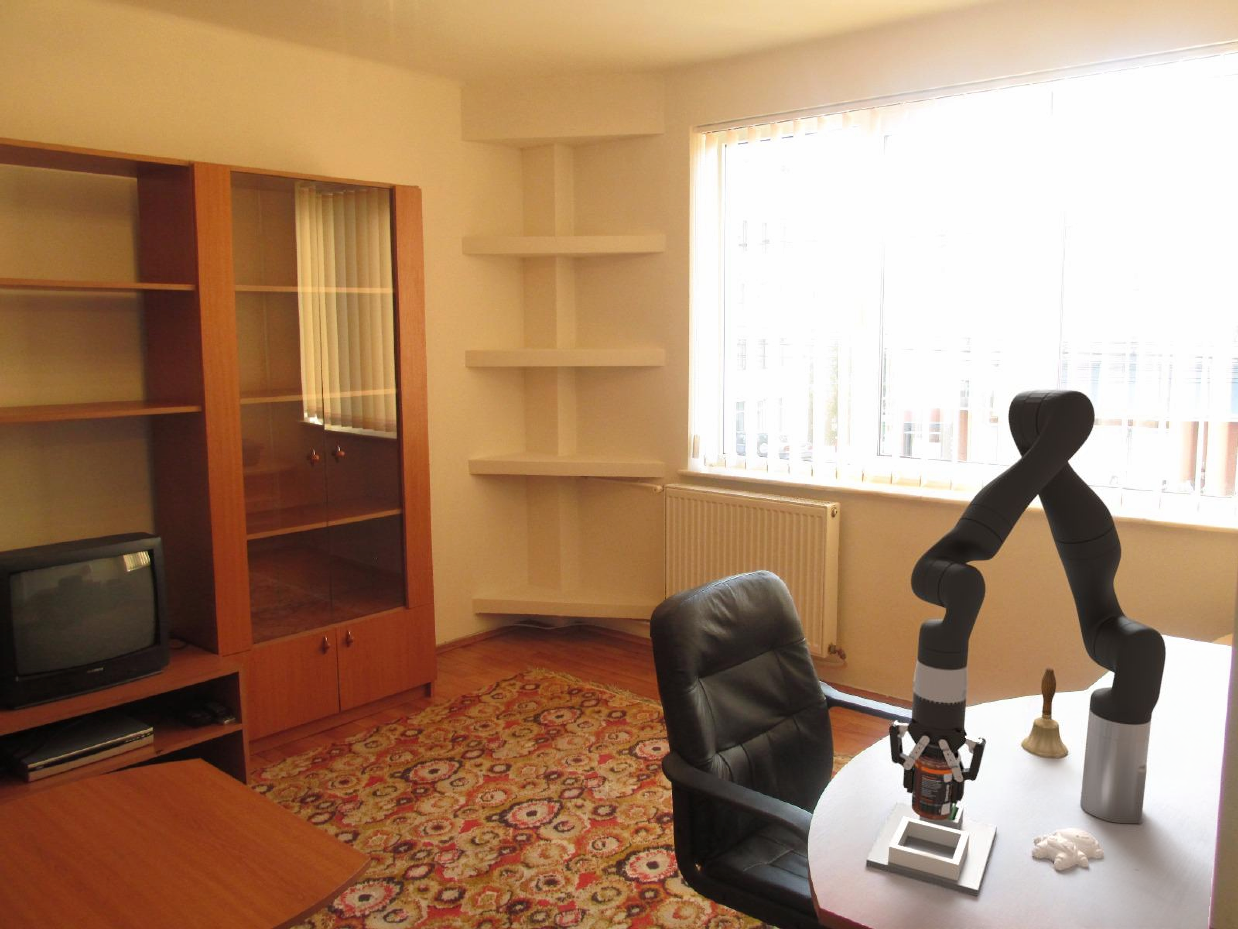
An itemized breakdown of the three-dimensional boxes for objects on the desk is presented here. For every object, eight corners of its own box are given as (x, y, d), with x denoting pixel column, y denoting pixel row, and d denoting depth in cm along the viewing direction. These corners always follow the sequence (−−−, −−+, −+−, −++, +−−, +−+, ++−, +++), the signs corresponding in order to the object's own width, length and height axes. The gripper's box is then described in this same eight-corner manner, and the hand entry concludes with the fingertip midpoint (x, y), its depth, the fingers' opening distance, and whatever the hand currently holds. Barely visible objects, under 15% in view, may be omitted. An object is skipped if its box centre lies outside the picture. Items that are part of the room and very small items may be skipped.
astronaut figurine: (1016, 849, 154) (1018, 831, 153) (1068, 831, 159) (1070, 814, 159) (1064, 878, 146) (1066, 859, 146) (1117, 858, 152) (1119, 840, 151)
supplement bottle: (957, 822, 145) (962, 751, 144) (917, 822, 146) (922, 750, 144) (945, 802, 151) (950, 733, 149) (906, 801, 151) (911, 732, 150)
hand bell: (1021, 753, 186) (1027, 673, 184) (1021, 736, 194) (1027, 659, 191) (1068, 761, 183) (1076, 680, 181) (1067, 743, 191) (1074, 665, 188)
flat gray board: (996, 832, 158) (997, 811, 158) (977, 896, 141) (979, 874, 140) (895, 807, 166) (897, 787, 165) (866, 865, 148) (867, 844, 148)
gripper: (994, 691, 145) (986, 797, 148) (896, 673, 152) (890, 774, 155) (987, 709, 139) (978, 819, 141) (885, 689, 145) (878, 795, 148)
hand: (932, 795), depth 148 cm, fingers closed on supplement bottle, 6 cm apart
